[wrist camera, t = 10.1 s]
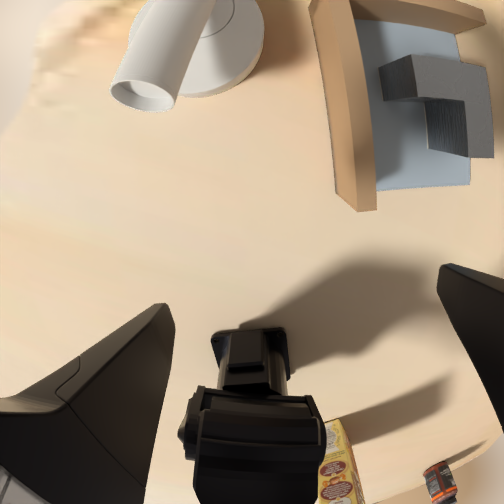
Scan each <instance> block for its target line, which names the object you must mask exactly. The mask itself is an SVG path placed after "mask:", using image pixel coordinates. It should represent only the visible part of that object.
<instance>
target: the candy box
mask: <svg viewBox="0 0 504 504" xmlns="http://www.w3.org/2000/svg"><path fill="white" fill-rule="evenodd" d="M324 425H325V428H326V433H327V447H326V454H325V458H324V460H323V463H322V464H321V466H320V467H319V470H318V498H319V504H365V500H364V496H363V491H362V487H361V482H360V478H359V474H358V470H357V466H356V462H355V458H354V454H353V450H352V446H351V444H350V441H349V439H348V437H347V435H346V432H345V430H344V428H343V426H342V424H341V422H340V420H339V419H336V420H333V421H330V422H327V423H324Z"/></svg>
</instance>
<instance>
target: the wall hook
mask: <svg viewBox="0 0 504 504" xmlns="http://www.w3.org/2000/svg"><path fill="white" fill-rule="evenodd" d="M263 41H264V20H263V16H262V13H261V10H260V8H259V6H258V4H257V3H256V1H255V0H149V1H148V2H147V3H146V4H145V5H144V6H143V7H142V8H141V10H140V11H139V12H138V14H137V16H136V17H135V19H134V21H133V24H132V26H131V29H130V33H129V40H128V49H127V51H126V53H125V55H124V57H123V59H122V61H121V63H120V66H119V68H118V70H117V72H116V74H115V76H114V79H113V81H112V83H111V85H110V88H109V92H110V95H111V96H112V97H113V98H114V99H115V100H116V101H118V102H119V103H121V104H123V105H125V106H127V107H129V108H132V109H135V110H139V111H144V112H165V111H168V110H170V109H172V108H173V107H174V104H175V101H176V98H177V96H182V97H189V98H201V97H208V96H213V95H217V94H220V93H222V92H225V91H227V90H229V89H231V88H232V87H234V86H236V85H237V84H239V83H240V82H241V81H242V80H244V79H245V78H246V77H247V76H248V75H249V74H250V72H251V71H252V70H253V69H254V67H255V66H256V64H257V62H258V60H259V58H260V55H261V52H262V48H263Z"/></svg>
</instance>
